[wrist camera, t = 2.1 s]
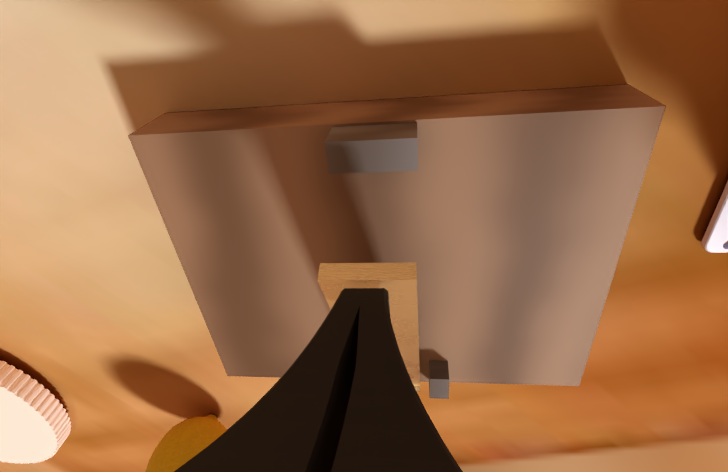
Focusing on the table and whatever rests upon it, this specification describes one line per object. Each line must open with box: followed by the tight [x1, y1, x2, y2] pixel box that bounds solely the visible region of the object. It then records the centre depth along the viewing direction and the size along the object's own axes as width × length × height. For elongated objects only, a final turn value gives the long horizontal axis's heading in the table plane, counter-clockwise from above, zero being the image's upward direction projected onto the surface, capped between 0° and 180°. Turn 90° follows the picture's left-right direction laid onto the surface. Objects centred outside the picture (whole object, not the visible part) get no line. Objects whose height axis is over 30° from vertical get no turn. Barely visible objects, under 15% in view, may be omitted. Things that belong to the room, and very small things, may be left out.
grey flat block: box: [128, 84, 666, 399], centre depth 20 cm, size 20×15×5 cm
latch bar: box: [318, 262, 420, 392], centre depth 18 cm, size 3×12×1 cm, turn 5°
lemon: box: [146, 414, 227, 472], centre depth 30 cm, size 6×6×8 cm
